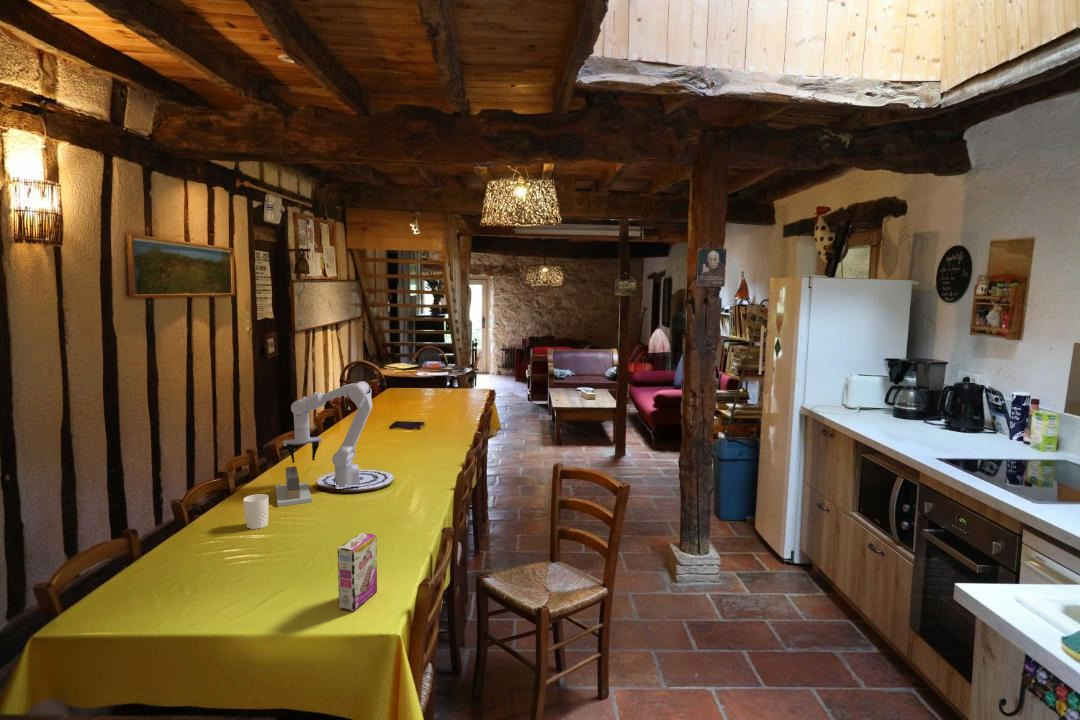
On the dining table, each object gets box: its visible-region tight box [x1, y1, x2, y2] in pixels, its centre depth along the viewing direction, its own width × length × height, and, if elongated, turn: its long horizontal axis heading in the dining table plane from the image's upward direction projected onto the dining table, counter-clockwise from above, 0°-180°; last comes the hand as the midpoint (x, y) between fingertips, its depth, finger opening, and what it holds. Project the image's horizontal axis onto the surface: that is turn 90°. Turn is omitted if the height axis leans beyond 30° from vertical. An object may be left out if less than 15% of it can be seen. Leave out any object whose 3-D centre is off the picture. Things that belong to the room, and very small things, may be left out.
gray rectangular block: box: [285, 465, 300, 491], centre depth 245 cm, size 4×16×5 cm, turn 25°
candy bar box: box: [337, 532, 378, 612], centre depth 164 cm, size 11×5×16 cm, turn 163°
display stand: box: [275, 481, 313, 507], centre depth 246 cm, size 12×22×4 cm, turn 25°
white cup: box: [242, 493, 270, 530], centre depth 215 cm, size 8×8×10 cm
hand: (303, 461), depth 257 cm, fingers open, 7 cm apart
